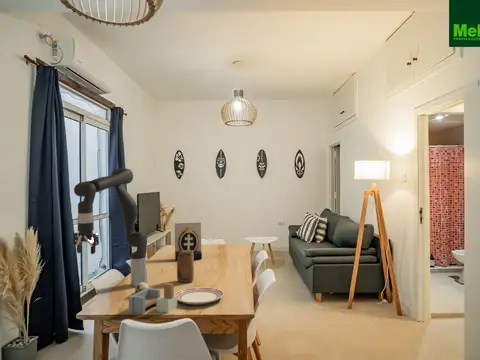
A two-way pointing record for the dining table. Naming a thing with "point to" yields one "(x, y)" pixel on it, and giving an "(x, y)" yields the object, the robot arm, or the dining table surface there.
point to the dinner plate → (199, 295)
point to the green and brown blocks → (167, 299)
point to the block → (185, 266)
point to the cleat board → (143, 300)
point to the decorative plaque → (188, 239)
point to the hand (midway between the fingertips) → (86, 253)
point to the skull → (140, 287)
